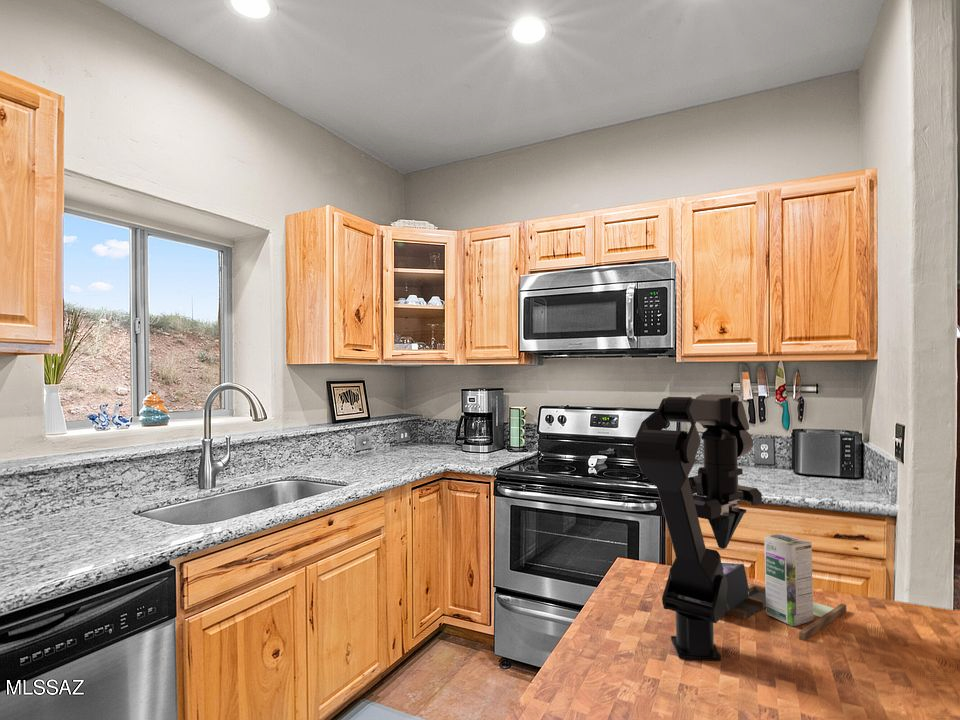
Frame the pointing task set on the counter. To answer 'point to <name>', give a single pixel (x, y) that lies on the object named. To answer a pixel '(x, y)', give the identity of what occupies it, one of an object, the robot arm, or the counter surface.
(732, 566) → the small box
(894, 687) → the counter surface
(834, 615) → the lane
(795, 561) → the syrup box
